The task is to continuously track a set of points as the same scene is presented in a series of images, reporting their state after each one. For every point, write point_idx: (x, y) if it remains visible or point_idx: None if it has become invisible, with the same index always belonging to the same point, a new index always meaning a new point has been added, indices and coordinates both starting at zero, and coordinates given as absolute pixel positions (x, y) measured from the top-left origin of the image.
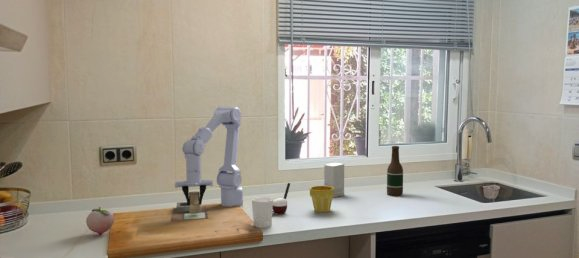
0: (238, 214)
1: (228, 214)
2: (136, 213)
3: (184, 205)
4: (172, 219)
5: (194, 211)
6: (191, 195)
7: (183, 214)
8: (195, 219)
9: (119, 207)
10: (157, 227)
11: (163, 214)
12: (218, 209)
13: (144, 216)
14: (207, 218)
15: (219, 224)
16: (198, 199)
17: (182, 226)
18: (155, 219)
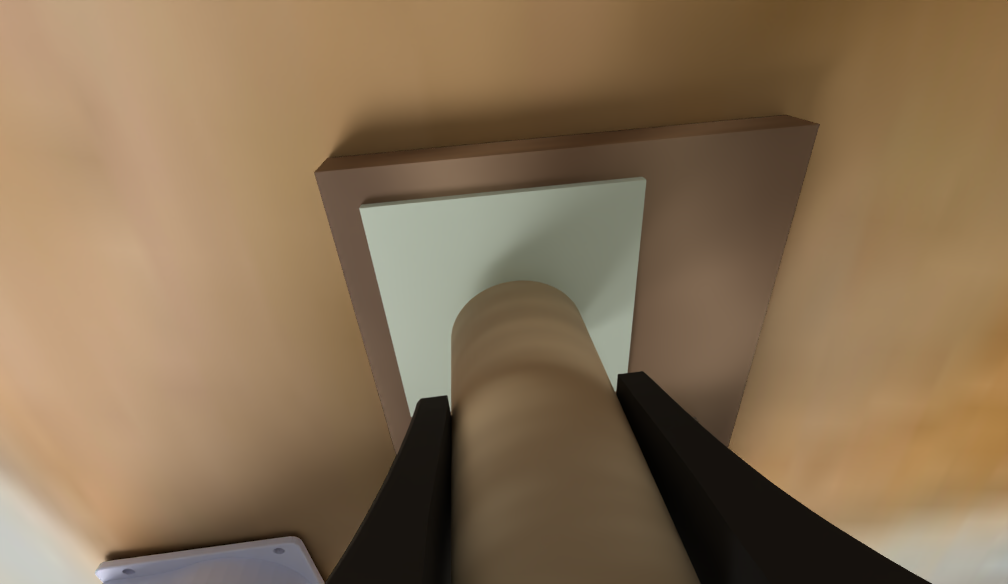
0: (62, 433)
1: (180, 437)
2: (939, 481)
3: None
4: (778, 206)
5: (521, 298)
6: (649, 537)
7: None
8: (493, 165)
9: (975, 574)
10: (954, 34)
11: (768, 457)
12: (330, 551)
13: (917, 419)
14: (327, 194)
15: (124, 41)
16: (466, 471)
17: (655, 25)
18: (867, 339)
